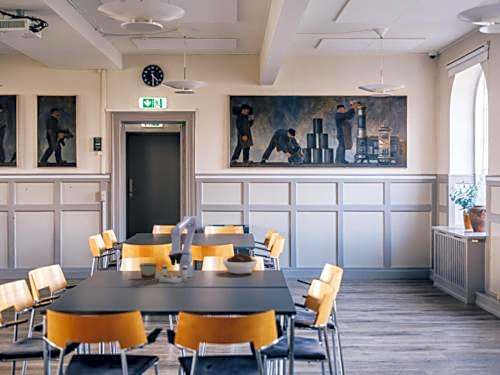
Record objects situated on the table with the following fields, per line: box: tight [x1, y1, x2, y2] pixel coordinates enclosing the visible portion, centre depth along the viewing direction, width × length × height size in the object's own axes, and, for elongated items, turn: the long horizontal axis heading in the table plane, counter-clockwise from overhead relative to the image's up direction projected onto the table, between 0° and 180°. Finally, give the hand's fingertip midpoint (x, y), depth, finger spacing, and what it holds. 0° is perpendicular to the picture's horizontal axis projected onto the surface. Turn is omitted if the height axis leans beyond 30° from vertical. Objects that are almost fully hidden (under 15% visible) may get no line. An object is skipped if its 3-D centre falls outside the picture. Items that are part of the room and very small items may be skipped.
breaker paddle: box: [167, 271, 174, 277], centre depth 394 cm, size 2×3×3 cm, turn 72°
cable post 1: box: [161, 264, 168, 277], centre depth 403 cm, size 3×3×10 cm
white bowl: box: [222, 252, 258, 275], centre depth 431 cm, size 25×25×15 cm
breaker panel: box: [158, 274, 184, 284], centre depth 395 cm, size 7×14×4 cm, turn 72°
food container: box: [139, 262, 158, 280], centre depth 409 cm, size 12×6×10 cm, turn 84°
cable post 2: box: [182, 266, 188, 282], centre depth 398 cm, size 3×3×10 cm
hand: (175, 264), depth 402 cm, fingers open, 7 cm apart
